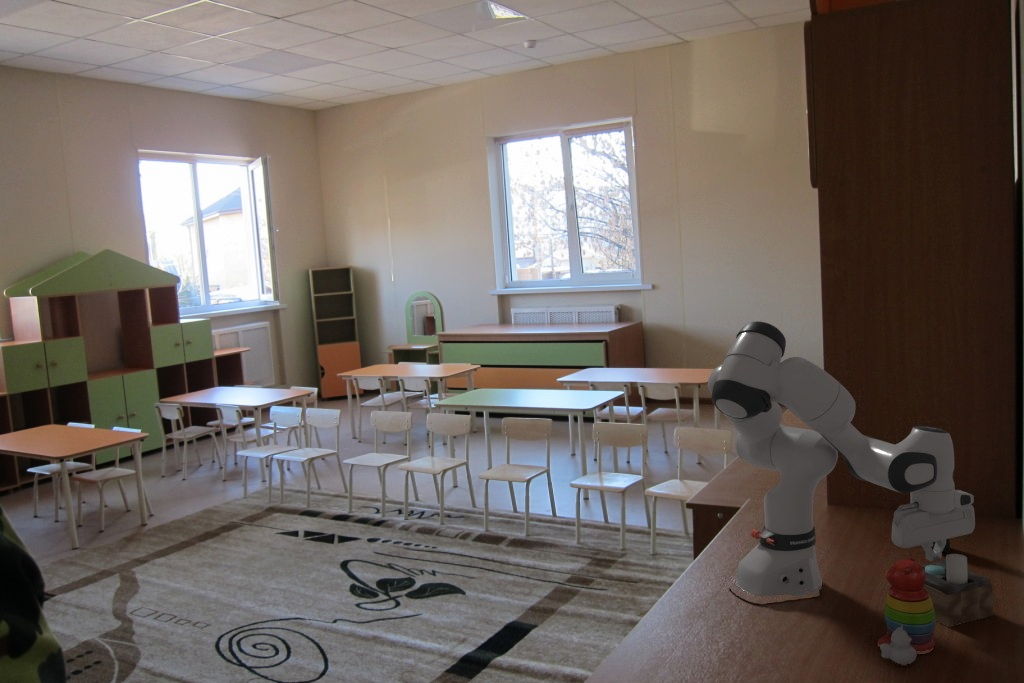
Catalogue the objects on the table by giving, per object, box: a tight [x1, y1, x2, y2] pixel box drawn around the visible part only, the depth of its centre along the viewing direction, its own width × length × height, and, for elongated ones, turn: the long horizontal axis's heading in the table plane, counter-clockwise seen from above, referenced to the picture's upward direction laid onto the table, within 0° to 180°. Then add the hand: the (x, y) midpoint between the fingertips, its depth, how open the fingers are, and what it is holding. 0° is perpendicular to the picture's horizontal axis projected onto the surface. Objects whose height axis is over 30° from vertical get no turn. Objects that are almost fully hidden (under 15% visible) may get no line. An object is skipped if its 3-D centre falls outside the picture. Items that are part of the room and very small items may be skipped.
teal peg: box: [925, 565, 945, 576], centre depth 190 cm, size 4×4×8 cm
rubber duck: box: [879, 626, 918, 664], centre depth 167 cm, size 5×7×8 cm
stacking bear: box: [877, 556, 936, 652], centre depth 173 cm, size 11×10×18 cm
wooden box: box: [921, 559, 994, 626], centre depth 187 cm, size 12×13×8 cm
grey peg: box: [945, 553, 968, 586], centre depth 183 cm, size 4×4×8 cm
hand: (933, 559), depth 190 cm, fingers closed
